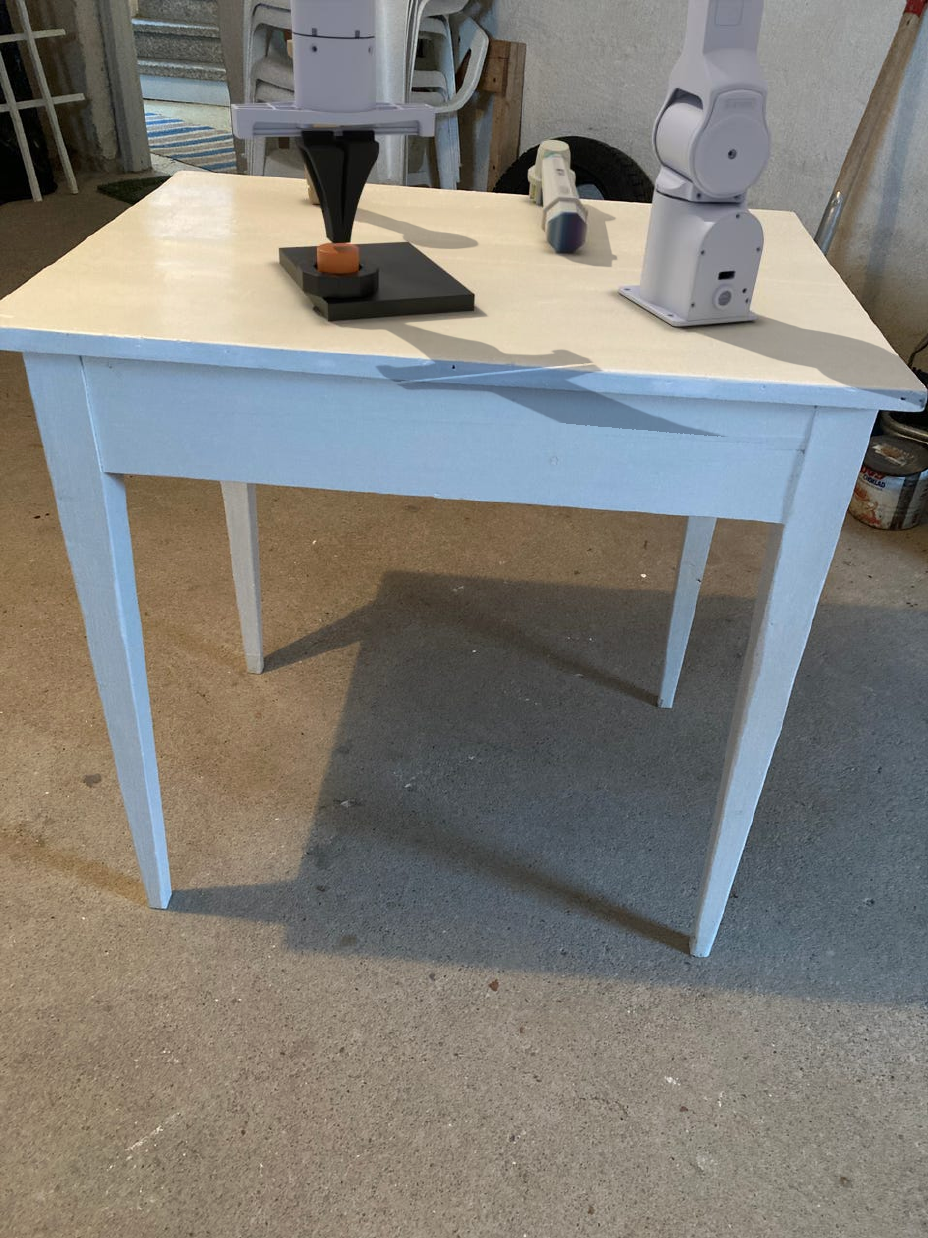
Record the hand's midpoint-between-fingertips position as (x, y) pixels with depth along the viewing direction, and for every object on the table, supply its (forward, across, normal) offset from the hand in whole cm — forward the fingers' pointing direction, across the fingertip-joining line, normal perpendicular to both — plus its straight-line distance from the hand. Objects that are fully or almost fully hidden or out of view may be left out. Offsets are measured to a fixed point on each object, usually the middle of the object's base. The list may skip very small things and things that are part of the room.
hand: (338, 239), depth 76 cm
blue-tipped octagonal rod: (+5, -30, -22) cm, 37 cm away
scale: (+5, -4, -4) cm, 7 cm away
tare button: (+2, 0, 0) cm, 2 cm away
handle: (+5, -8, -34) cm, 35 cm away
